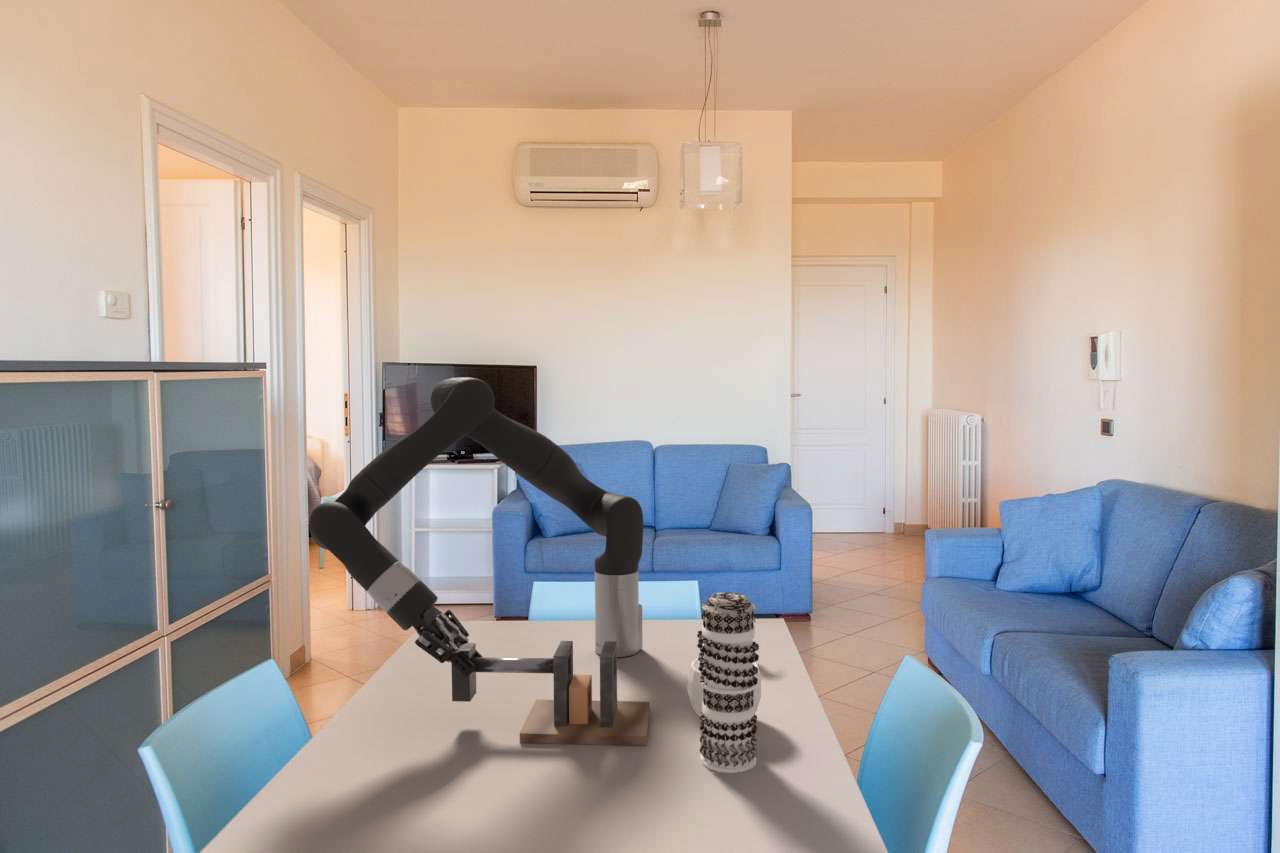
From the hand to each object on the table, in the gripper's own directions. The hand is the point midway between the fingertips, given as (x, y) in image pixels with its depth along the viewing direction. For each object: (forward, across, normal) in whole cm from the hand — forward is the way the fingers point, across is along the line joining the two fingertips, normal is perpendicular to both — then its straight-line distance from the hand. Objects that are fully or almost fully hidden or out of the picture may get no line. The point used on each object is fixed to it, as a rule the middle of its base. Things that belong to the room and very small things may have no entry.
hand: (475, 667), depth 138 cm
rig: (+20, 0, -6) cm, 21 cm away
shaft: (+7, 0, 0) cm, 7 cm away
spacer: (+18, 0, -7) cm, 19 cm away
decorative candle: (+36, -11, -22) cm, 44 cm away
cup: (+36, +3, -22) cm, 43 cm away
